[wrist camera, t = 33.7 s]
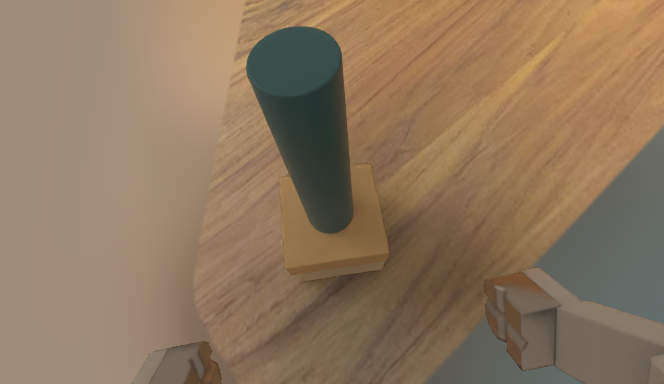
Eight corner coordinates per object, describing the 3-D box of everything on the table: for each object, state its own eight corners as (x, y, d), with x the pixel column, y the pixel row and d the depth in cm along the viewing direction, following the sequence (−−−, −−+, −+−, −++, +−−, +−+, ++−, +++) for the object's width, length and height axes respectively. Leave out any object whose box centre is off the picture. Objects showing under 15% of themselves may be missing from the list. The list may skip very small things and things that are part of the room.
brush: (299, 283, 19) (182, 164, 7) (292, 205, 22) (196, 8, 9) (385, 270, 19) (424, 125, 7) (369, 193, 22) (377, -23, 9)
